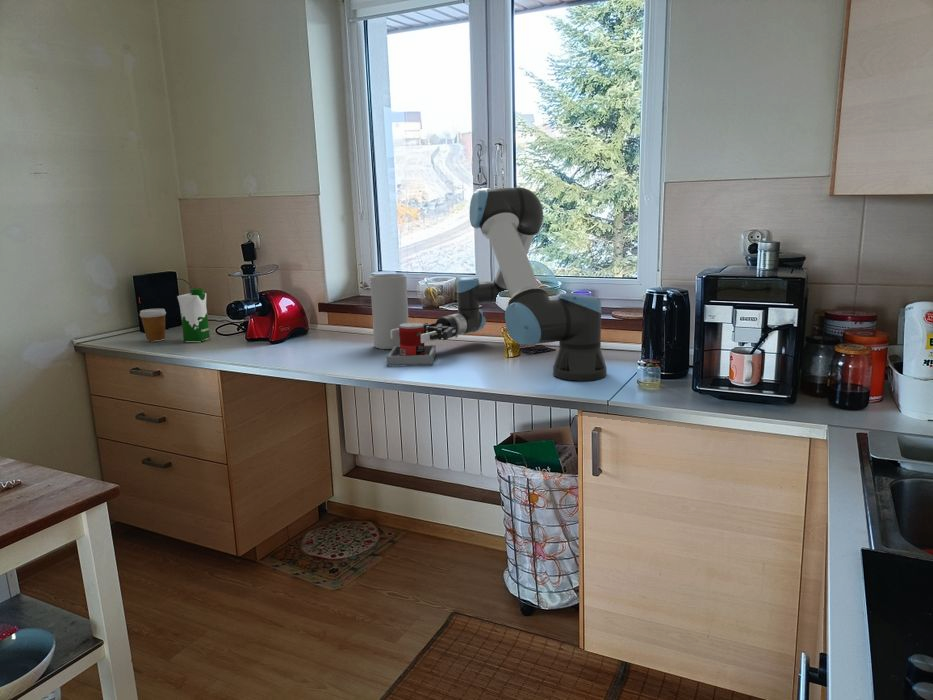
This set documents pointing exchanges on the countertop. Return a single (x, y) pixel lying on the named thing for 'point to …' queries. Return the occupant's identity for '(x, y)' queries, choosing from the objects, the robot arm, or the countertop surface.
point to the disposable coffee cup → (153, 323)
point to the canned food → (411, 339)
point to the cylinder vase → (388, 307)
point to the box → (411, 357)
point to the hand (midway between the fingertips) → (406, 336)
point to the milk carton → (194, 315)
